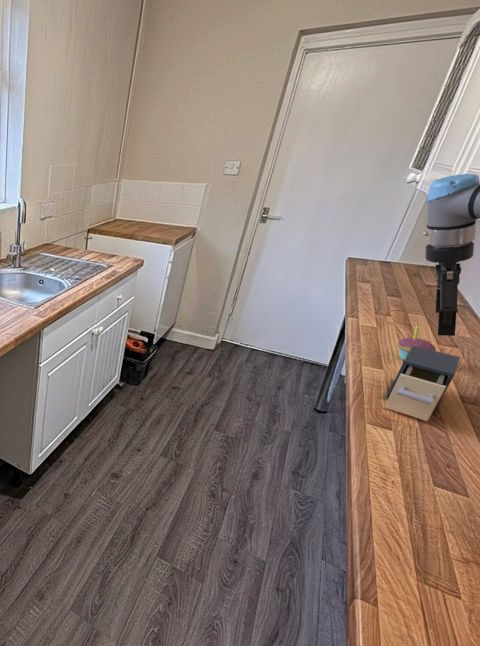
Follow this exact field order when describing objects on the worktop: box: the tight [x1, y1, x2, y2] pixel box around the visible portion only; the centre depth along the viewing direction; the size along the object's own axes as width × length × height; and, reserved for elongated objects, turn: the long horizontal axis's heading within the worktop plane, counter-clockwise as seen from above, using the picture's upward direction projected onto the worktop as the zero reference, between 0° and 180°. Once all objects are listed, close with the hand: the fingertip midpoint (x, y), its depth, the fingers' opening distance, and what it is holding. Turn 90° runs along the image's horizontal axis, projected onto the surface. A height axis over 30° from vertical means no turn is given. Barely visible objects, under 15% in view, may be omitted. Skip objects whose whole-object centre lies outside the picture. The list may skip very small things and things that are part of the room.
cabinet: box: [386, 346, 461, 414], centre depth 112 cm, size 15×9×12 cm, turn 129°
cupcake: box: [396, 323, 437, 361], centre depth 131 cm, size 9×8×12 cm
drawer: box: [384, 366, 446, 422], centre depth 105 cm, size 18×8×10 cm, turn 129°
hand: (444, 323), depth 105 cm, fingers open, 13 cm apart
